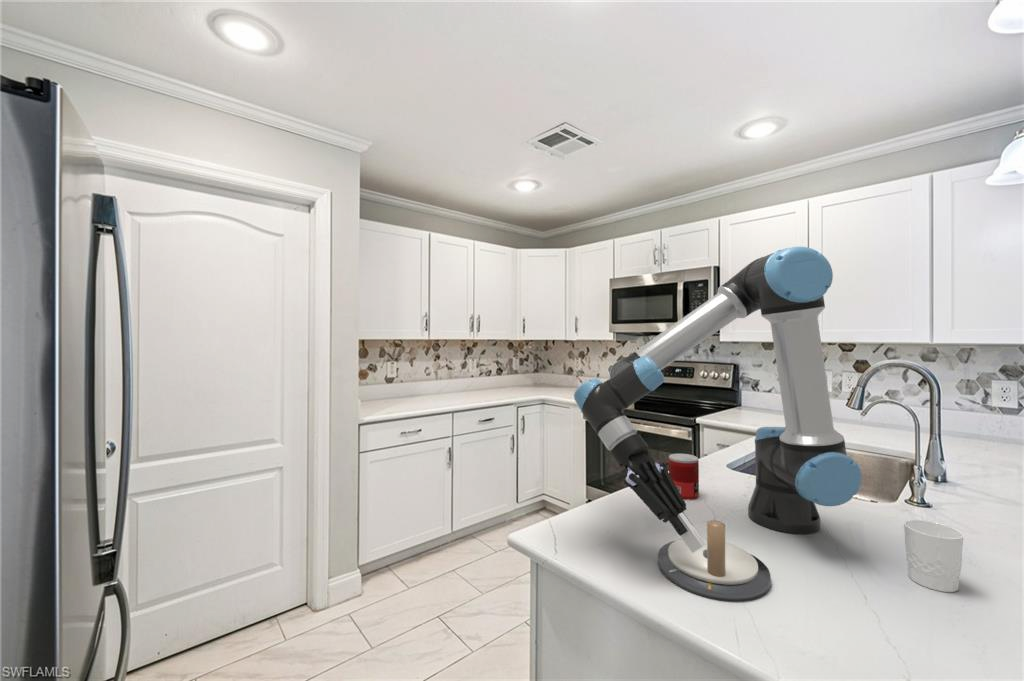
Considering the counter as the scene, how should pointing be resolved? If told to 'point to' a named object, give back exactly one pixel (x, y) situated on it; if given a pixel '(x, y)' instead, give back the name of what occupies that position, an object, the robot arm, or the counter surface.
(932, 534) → the white cup
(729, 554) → the dial
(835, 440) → the robot arm
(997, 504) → the counter surface
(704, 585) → the dial base
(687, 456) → the canned food
